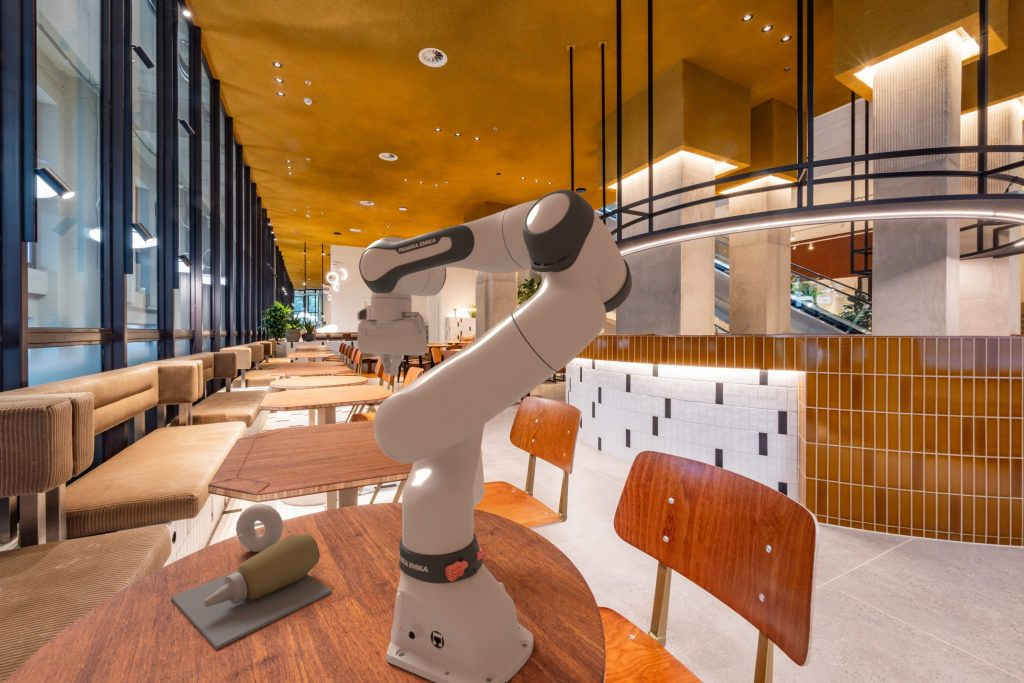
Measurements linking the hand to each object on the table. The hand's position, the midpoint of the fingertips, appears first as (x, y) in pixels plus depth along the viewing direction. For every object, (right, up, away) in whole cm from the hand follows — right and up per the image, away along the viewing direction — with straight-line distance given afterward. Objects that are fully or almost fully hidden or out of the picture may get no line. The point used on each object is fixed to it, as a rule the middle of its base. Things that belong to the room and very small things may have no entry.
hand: (391, 374), depth 98 cm
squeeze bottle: (-11, -32, -13) cm, 37 cm away
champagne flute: (+18, -38, -6) cm, 42 cm away
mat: (-19, -37, -21) cm, 46 cm away
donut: (-27, -37, -5) cm, 46 cm away
